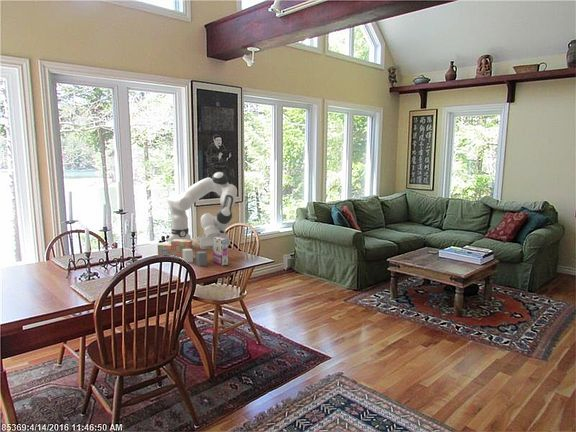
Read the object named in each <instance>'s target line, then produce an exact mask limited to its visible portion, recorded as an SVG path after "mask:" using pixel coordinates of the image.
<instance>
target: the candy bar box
mask: <svg viewBox="0 0 576 432" xmlns="http://www.w3.org/2000/svg"><path fill="white" fill-rule="evenodd" d="M212 251H213V263H215V265H219V266H221V267H223V266H228V265H229V246H228V239H225V238H222V237H213V249H212Z"/></svg>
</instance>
